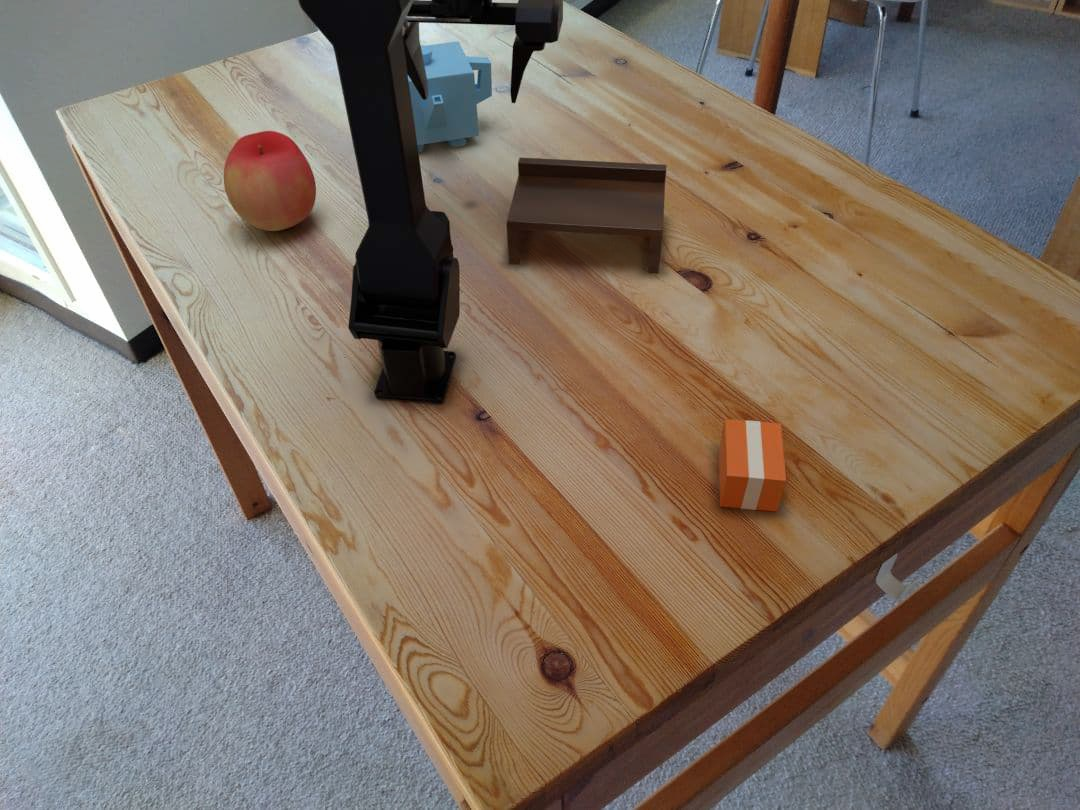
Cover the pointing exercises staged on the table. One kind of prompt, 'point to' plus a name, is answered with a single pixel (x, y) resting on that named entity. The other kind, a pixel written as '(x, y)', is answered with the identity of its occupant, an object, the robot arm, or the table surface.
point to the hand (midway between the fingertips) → (469, 99)
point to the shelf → (588, 202)
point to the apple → (269, 181)
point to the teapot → (450, 95)
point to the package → (751, 465)
